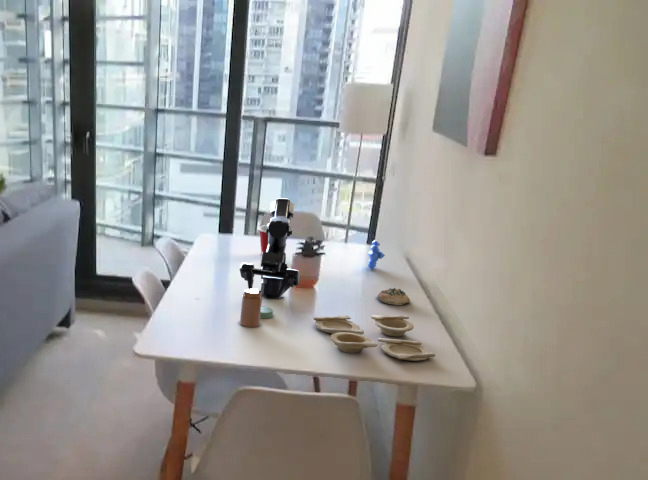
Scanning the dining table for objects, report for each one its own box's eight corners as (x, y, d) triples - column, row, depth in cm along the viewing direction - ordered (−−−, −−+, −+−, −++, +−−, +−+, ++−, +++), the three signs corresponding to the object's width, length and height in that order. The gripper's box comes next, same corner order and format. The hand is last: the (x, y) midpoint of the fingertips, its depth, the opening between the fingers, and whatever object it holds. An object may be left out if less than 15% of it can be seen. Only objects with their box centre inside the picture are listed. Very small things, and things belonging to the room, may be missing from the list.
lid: (249, 316, 228) (250, 311, 227) (252, 310, 234) (253, 305, 233) (271, 319, 226) (271, 313, 226) (273, 313, 232) (274, 307, 231)
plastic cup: (250, 255, 304) (253, 227, 299) (262, 251, 312) (265, 223, 307) (274, 260, 298) (277, 231, 294) (285, 255, 307) (288, 227, 302)
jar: (254, 320, 225) (257, 287, 221) (262, 326, 219) (266, 293, 215) (236, 321, 223) (239, 288, 219) (244, 327, 218) (247, 294, 214)
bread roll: (382, 293, 258) (386, 280, 256) (412, 303, 253) (416, 290, 250) (371, 301, 250) (375, 288, 247) (402, 312, 245) (406, 299, 242)
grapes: (381, 273, 286) (386, 243, 281) (363, 271, 288) (368, 241, 283) (383, 266, 296) (388, 238, 291) (366, 264, 298) (371, 236, 293)
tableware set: (310, 319, 228) (311, 307, 226) (402, 323, 228) (404, 311, 226) (332, 360, 196) (334, 346, 194) (440, 366, 196) (443, 352, 194)
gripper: (243, 237, 228) (232, 280, 223) (302, 244, 223) (291, 288, 217) (247, 256, 238) (236, 297, 233) (303, 263, 232) (293, 305, 227)
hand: (263, 296), depth 228 cm, fingers open, 9 cm apart
